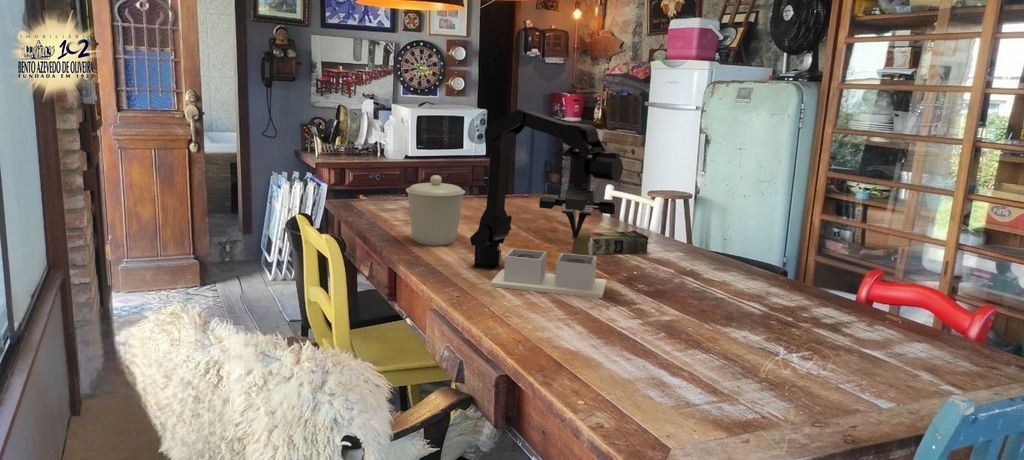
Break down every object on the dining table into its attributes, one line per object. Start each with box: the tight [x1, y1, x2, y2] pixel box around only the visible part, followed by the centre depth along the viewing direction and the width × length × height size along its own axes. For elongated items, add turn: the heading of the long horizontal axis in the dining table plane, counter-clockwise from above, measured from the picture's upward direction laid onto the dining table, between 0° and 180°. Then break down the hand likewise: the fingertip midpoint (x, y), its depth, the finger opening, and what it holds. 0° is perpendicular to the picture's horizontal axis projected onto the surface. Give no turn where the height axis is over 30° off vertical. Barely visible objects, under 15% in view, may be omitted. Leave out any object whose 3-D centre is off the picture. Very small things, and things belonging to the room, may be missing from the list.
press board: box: [490, 248, 608, 299], centre depth 186 cm, size 28×14×8 cm, turn 79°
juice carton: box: [588, 230, 649, 256], centre depth 227 cm, size 20×10×6 cm, turn 108°
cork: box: [570, 229, 591, 256], centre depth 203 cm, size 6×6×11 cm
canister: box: [405, 174, 466, 247], centre depth 225 cm, size 18×18×21 cm
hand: (575, 237), depth 183 cm, fingers closed
